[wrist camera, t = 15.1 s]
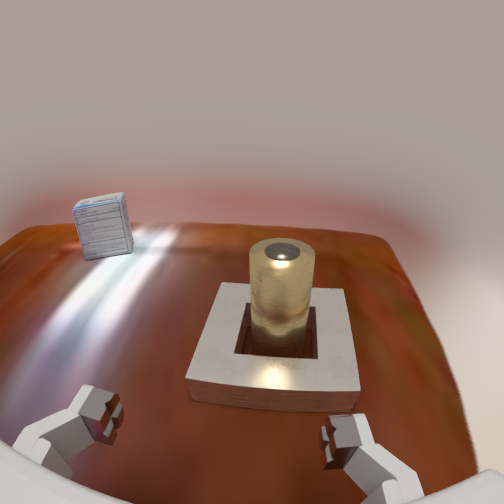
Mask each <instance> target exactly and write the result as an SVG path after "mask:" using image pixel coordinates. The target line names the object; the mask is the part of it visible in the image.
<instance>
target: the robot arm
mask: <svg viewBox="0 0 504 504" xmlns="http://www.w3.org/2000/svg"><path fill="white" fill-rule="evenodd" d="M119 400H120V398H119V396H118V394H116V393H112V392H109V391H106V390H103V389H99V388H96V387H93V386H90V385H87V384H84V385H83V386H82V387H81V388H80V390H79V392H78V393H77V395H76V396H75V398H74V399H73V401H72V403H71V404H70V406H69V407H68V409H67V410H66V409H63V410H61V411H59V412H57V413H55V414H52V415H50V416H48V417H46V418H44V419H42V420H40V421H37V422H35V423H33V424H31V425H29V426H26V427H24V429H23V430H22V432H21V434H20V435H19V437H18V438H17V440H16V441H15V443H14V445H13V446H12V447H10V446H9V445H7V444H6V443H4V442H3V441H1V440H0V504H133V503H130V502H127V501H123V500H120V499H117V498H114V497H111V496H109V495H106V494H103V493H100V492H98V491H95V490H93V489H90V488H88V487H85V486H83V485H81V484H78V483H76V482H74V481H72V480H70V479H71V477H72V474H73V471H72V469H71V468H70V467H69V466H68V464H67V463H66V461H68V460H69V459H71V458H72V457H73V456H75V455H76V454H78V453H79V452H81V451H82V450H83V449H85V448H86V447H88V446H89V445H90V444H92V443H93V442H95V441H98V442H101V443H104V444H107V445H111V446H113V443H114V441H115V439H116V436H117V432H116V429H117V428H119V427H121V425H122V422H123V418H124V410H123V407H122V406H121V405H120V404H119V403H118V402H119ZM324 423H325V426H323V427H322V428H321V430H320V433H319V448H320V449H321V450H322V451H323V454H322V456H321V460H322V466H323V470H329V469H342V468H344V469H343V470H344V471H345V472H346V473H347V474H348V475H349V476H350V477H351V479H352V480H353V481H354V482H355V483H356V484H357V485H358V486H359V487H360V488H361V489H362V490H363V491H364V492H365V493H366V494H367V495H368V497H367V498H366V499H365V500H364V501H362V502H361V503H360V504H504V475H503V474H501V473H499V472H497V471H495V470H492V469H487V470H484V471H482V472H480V473H478V474H476V475H474V476H472V477H470V478H468V479H466V480H464V481H461V482H459V483H457V484H455V485H453V486H450V487H448V488H445V489H443V490H440V491H438V492H435V493H433V494H430V495H427V496H424V493H423V490H422V487H421V484H420V482H419V479H418V476H417V473H416V472H415V471H414V470H412V469H411V468H409V467H408V466H407V465H405V464H404V463H403V462H401V461H400V460H399V459H397V458H396V457H395V456H394V455H392V454H391V453H390V452H388V451H387V450H386V449H384V448H383V447H382V446H381V445H379V444H375V442H374V439H373V436H372V433H371V430H370V427H369V424H368V421H367V418H366V416H365V414H352V415H351V414H348V415H335V416H327V417H326V419H325V421H324ZM94 440H95V441H94Z"/></svg>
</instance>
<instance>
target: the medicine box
mask: <svg viewBox="0 0 504 504" xmlns="http://www.w3.org/2000/svg"><path fill="white" fill-rule="evenodd" d="M72 212H73V216H74V219H75V224H76V228H77V232H78V236H79V239H80V243H81V246H82V250H83V253H84V257H85V260H91V259H96V258H102V257H108V256H113V255H119V254H125V253H131V252H132V246H133V236H132V231H131V226H130V222H129V217H128V211H127V206H126V200H125V194H124V192H120V193H114V194H108V195H103V196H98V197H93V198H88V199H84V200H80V201H79V202H78V203H77V204H76V205H75V206H74V208H73V209H72Z"/></svg>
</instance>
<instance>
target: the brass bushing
mask: <svg viewBox="0 0 504 504" xmlns="http://www.w3.org/2000/svg"><path fill="white" fill-rule="evenodd" d="M249 254H250V294H251V333H252V355H255V356H267V357H281V358H299V359H302V354H303V348H304V341H305V335H306V328H307V320H308V313H309V305H310V297H311V289H312V280H313V271H314V262H315V251H314V250H313V248H312V247H311V246H309V245H308V244H306V243H304V242H302V241H299V240H295V239H289V238H272V239H267V240H263V241H260V242H258V243H256V244H255V245H253V246H252V248H251V249H250V252H249Z"/></svg>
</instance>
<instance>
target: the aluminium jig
mask: <svg viewBox="0 0 504 504" xmlns="http://www.w3.org/2000/svg"><path fill="white" fill-rule="evenodd" d="M247 327H251V294H250V284H240V283H226V282H222V283H221V286H220V288H219V291H218V294H217V296H216V299H215V301H214V304H213V306H212V309H211V311H210V314H209V317H208V319H207V322H206V324H205V327H204V330H203V332H202V335H201V337H200V340H199V343H198V345H197V348H196V350H195V353H194V356H193V358H192V361H191V364H190V366H189V369H188V372H187V374H186V377H185V379H186V382H187V385H188V389H189V392H190V395H191V398H192V400H195V401H200V402H206V403H213V404H219V405H226V406H234V407H242V408H251V409H261V410H274V411H290V412H350V411H351V410H352V408H353V406H354V404H355V401H356V399H357V397H358V395H359V393H360V391H361V390H360V382H359V375H358V368H357V362H356V355H355V349H354V343H353V338H352V332H351V326H350V321H349V316H348V311H347V306H346V301H345V296H344V291H343V289H329V288H312V289H311V297H310V305H309V313H308V320H307V328H306V330H307V331H312V359H299V358H281V357H267V356H255V355H244V354H241V352H242V348H243V343H244V339H245V334H246V330H247Z"/></svg>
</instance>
